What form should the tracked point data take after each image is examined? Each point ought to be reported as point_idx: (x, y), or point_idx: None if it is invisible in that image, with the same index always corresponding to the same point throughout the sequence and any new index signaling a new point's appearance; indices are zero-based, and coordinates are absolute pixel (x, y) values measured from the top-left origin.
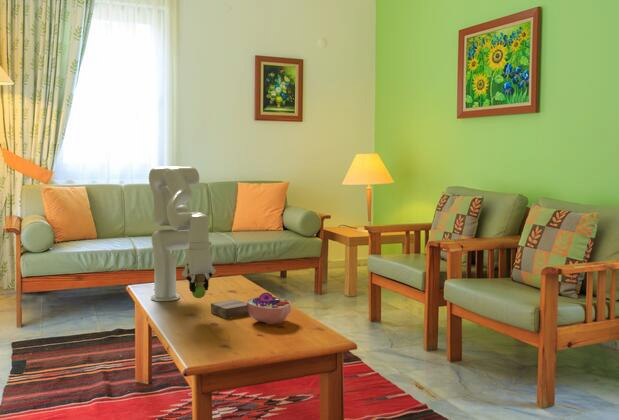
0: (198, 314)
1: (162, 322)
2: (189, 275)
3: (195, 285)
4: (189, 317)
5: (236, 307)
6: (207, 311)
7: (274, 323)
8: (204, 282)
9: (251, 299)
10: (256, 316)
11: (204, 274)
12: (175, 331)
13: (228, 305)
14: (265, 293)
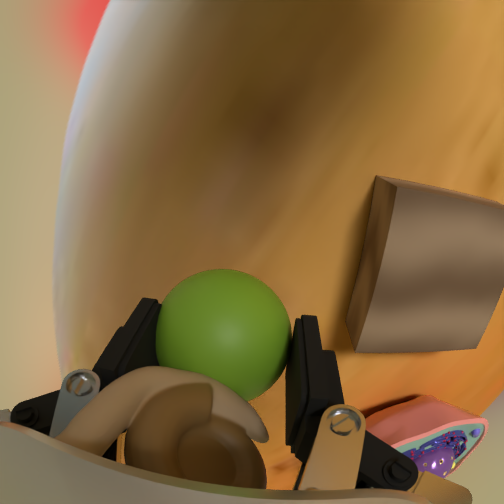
0: (302, 152)
1: (76, 179)
2: (54, 436)
3: (180, 361)
4: (221, 175)
5: (411, 351)
6: (382, 133)
7: None
8: (257, 440)
9: (422, 437)
10: None
11: (321, 479)
12: (84, 325)
13: (420, 303)
14: (443, 472)
